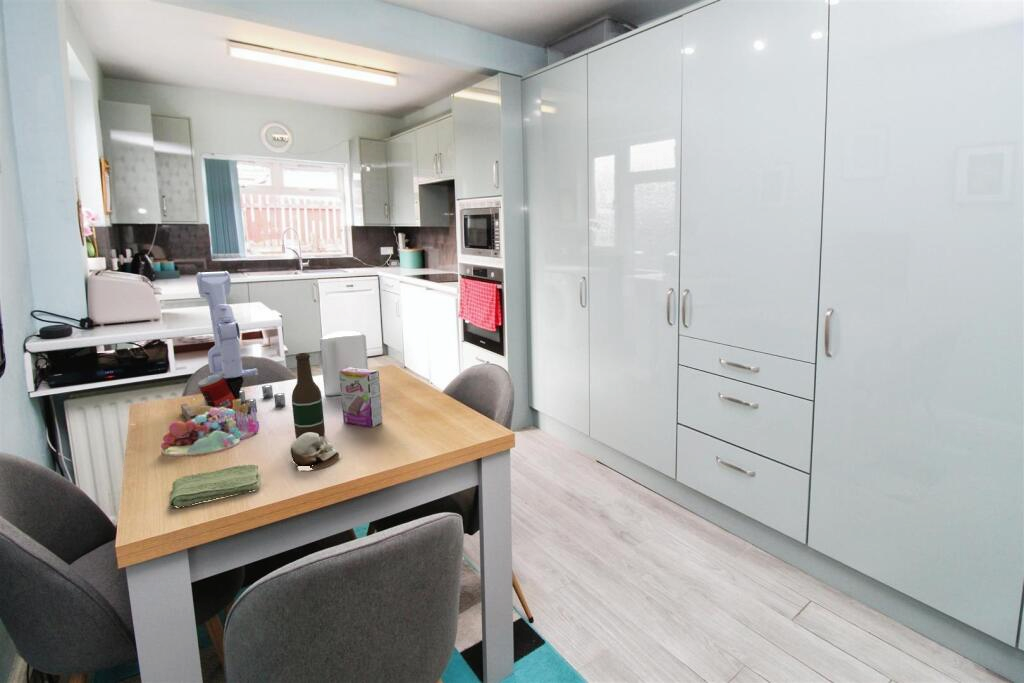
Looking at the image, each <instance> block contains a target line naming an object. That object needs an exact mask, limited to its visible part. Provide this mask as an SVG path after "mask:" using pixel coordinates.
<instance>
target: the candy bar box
mask: <svg viewBox="0 0 1024 683" xmlns="http://www.w3.org/2000/svg"><path fill="white" fill-rule="evenodd" d="M339 374H340V385H341V395H340V396H341V404H342V405H341V406H342V418H343V424H349V425H355V426H362V427H365V428H367V427H368V428H375V427H377V426H379V425H381V424H383V414H382V401H381V400H382V398H381V385H380V372H379V370H376V369H369V368H368V369H361V368H352V367H349V368H346V369H343V370H340V371H339Z"/></svg>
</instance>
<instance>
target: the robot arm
mask: <svg viewBox="0 0 1024 683" xmlns="http://www.w3.org/2000/svg"><path fill="white" fill-rule="evenodd" d="M195 277H196V283H197V289H198V294H199V295H200V298H203V299H205V300H206V302H207V304H208V308H209V315H210V320H211V327H212V331H213V333H212V334H213V340H214V345H213V346H212V347H211V348H210V349H209V350H208V352H207V362H208V367H209V371H210V373H211V375H212V376H210V375H208V376H207V377H208V381H211V380H214V379H217V378H219V377H221V376H220V375H218V374H217V373H223V374H224V376H223V377H224V378H225V379H226V380H227V383H228V384H229V386H230V388H231V390H232V392H233V395H234V397H235V399H239V394H240V390H242V389H241V388H242V386H243V383H244V380H245V379H244V378H245V377H250V376H251V377H252V376H259V370H258V368H256V367H255V368H249V369H248V368H247V369H243V362H242V355H241V346H240V340H241V339H240V338H241V330H240V326H239V323H238V321H237V319H235V316H234V311H233V308H232V307H231V305H229V304H227V303H228V302H227V297H228V296H229V295H230V293H231V286H232V284H231V282H232V280H231V276H230V272H228V271H227V270H225V271H209V272H208V271H207V272H205V271H204V272H197V273H196V276H195ZM213 374H217V375H213Z"/></svg>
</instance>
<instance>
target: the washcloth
mask: <svg viewBox="0 0 1024 683" xmlns="http://www.w3.org/2000/svg"><path fill="white" fill-rule="evenodd" d="M258 468H259V466H258V465H257V464H246V465H245V464H244V465H235V466H231V467H227V468H222V469H221V468H220V469H216V470H214V471H208V472H199V473H195V474H190V475H185V476H181V477H179V478H176V479H175V480H174V481H173V482H172V492H171V493H172V494H171V496H170V498H169V502H168V505H169V507H170V508H172V507H175V506H177V507H182V508H184V507H183V506H187V507H189V506H188V505H192V504H195V503H199V502H203V501H208V500H213V499H216V498H221V497H226V496H230V495H235V494H239V495H241V494H240V493H243V494H245V493H244V492H249V491H253V490H257V491H259V490H260V480H261V475H260V474H259V473H258V470H259V469H258ZM235 496H236V495H235ZM230 497H231V496H230ZM226 498H227V497H226ZM192 506H193V505H192Z"/></svg>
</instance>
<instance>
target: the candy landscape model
mask: <svg viewBox="0 0 1024 683" xmlns="http://www.w3.org/2000/svg"><path fill="white" fill-rule="evenodd" d="M248 407H249V402H248V403H246V404H245V403H243V404H241V399H235V400H233V407H232V409H229V408H228V409H227V408H224V407H221V408H214V407H211V406H205V405H202V406H200V407H199V408H198V410H197V415H196V417H195V419H191V420H190V421H188V420H186V422H184V421H181V420H176V421H173V422H172V423H171V424H170V425H169V427H168V433H165V434H164V435H163V437H162V440H163V442H162V443H161V445H160V448H161V454H163V455H164V454H165V455H164V456H169V455H170V457H184V455H185V456H189V455H190V456H197V455H196V454H200V455H205V453H206V454H212V453H218V452H221V451H224V449H225V450H227V449H230V448H235V447H236V446H238V445H239V444H240V443H241V440H243V439H246V438H250V437H251V436H253V435H255V434H258V431H259V429H260V423H259V420H258V419H257V412H256V409H255V408H254V412H253V409H251V414H247V413H248ZM217 451H218V452H217ZM211 452H212V453H211Z"/></svg>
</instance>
